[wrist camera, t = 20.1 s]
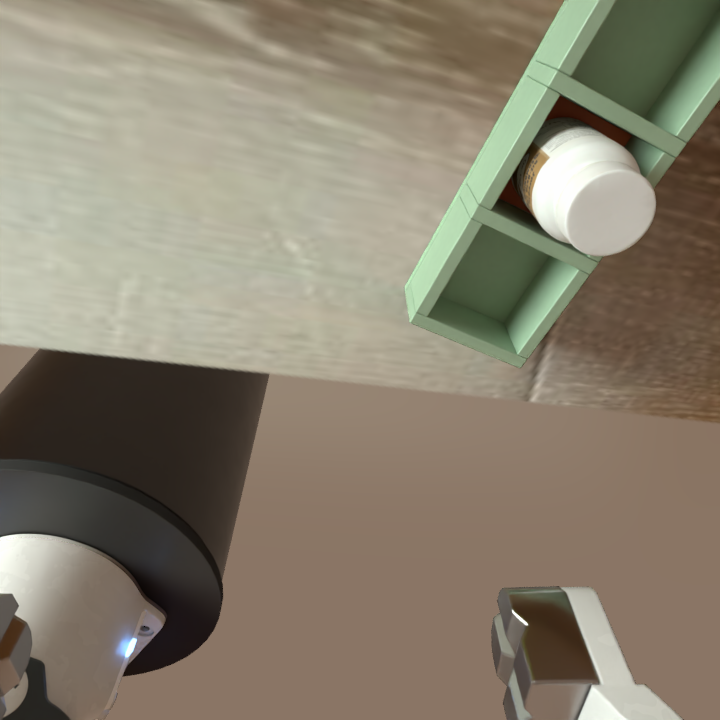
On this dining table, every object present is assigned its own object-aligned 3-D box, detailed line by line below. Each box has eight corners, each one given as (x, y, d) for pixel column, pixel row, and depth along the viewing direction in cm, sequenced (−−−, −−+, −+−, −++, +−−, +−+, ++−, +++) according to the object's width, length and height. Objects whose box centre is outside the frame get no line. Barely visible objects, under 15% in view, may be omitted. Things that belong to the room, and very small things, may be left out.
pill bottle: (496, 143, 28) (537, 190, 22) (585, 98, 27) (657, 134, 20) (524, 221, 30) (570, 286, 24) (608, 182, 29) (680, 239, 23)
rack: (504, 331, 35) (520, 369, 31) (403, 288, 33) (409, 323, 30) (741, -10, 25) (801, -10, 22) (615, -93, 24) (659, -106, 20)
